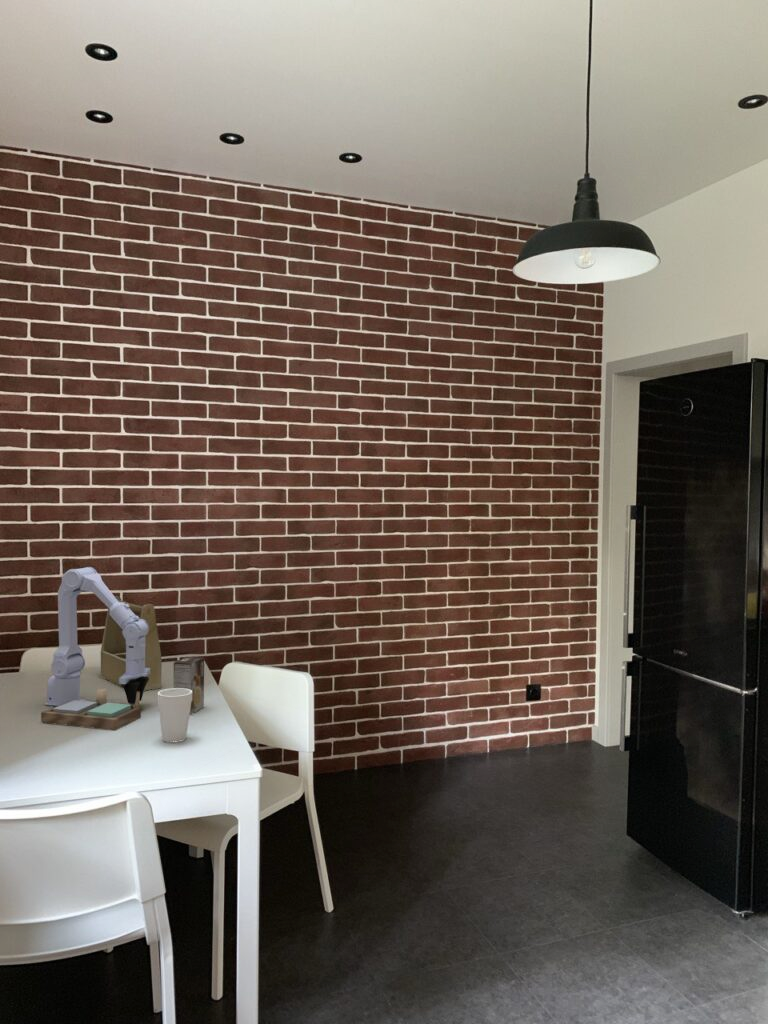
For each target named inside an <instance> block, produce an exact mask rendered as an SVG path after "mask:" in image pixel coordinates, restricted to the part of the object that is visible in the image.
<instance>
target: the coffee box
mask: <svg viewBox="0 0 768 1024" xmlns="http://www.w3.org/2000/svg"><path fill="white" fill-rule="evenodd" d="M172 681H173V684H172V685H173V688H185V689H190V690H192V701H191V708H190V714H191V715H193V714H194V713H196V712H198V711H199V710H201V709H203V708H204V705H205V704H204V703H205V698H204V697H205V696H204V695H205V657H194V656H185V657H183V658H181V659H179V660H176V661H175V662H173V680H172ZM197 710H198V711H197ZM192 713H193V714H192Z"/></svg>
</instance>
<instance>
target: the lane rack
mask: <svg viewBox="0 0 768 1024" xmlns="http://www.w3.org/2000/svg"><path fill="white" fill-rule="evenodd" d="M69 702H71V701H69ZM66 703H68V702H66ZM66 703H64V704H66ZM64 704H61V705H64ZM61 705H59V706H61ZM102 705H103V704H102ZM59 706H54V707H52V708H49V709H46V710H44V711H41V712H40V722H46V723H45V724H50V723H56V724H55V725H60V724H67V725H66V726H69V725H75V726H74V727H79V726H84V727H83V728H89V727H94V728H93V729H98V728H101V729H102V730H108V729H112V730H111V731H117V730H118V728H119V729H120V727H121V728H122V726H123V727H124V725H125V726H127V725H128V723H129V724H130V722H131V723H132V721H133V722H135V721H136V719H137V720H139V719H141V718H142V707H141V706H139V707H136V708H134V709H132V710H129V711H127V712H125V713H123V714H121V715H119V716H117V717H115V718H110V717H100V716H89V715H87V711H86V712H83V713H81V714H69V713H59V712H53V709H54V708H56V707H59ZM100 706H101V705H100ZM97 707H99V706H97ZM95 708H96V707H95ZM93 709H94V708H93ZM90 710H92V709H90ZM88 711H89V710H88ZM140 717H141V718H140ZM138 718H139V719H138ZM134 720H135V721H134ZM126 724H127V725H126ZM101 729H100V730H101ZM116 729H117V730H116Z"/></svg>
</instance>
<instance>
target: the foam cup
mask: <svg viewBox="0 0 768 1024" xmlns="http://www.w3.org/2000/svg"><path fill="white" fill-rule="evenodd" d="M156 696H157V703H158V712H159V713H158V714H159V720H160V721H159V722H160V730H161V731H160V732H161V738H162V739H163V740H164V741H168V742H167V743H176V742H175V741H180V740H184V739H185V738H186V739H187V735H188V725H189V720H190V715H189V714H190V708H191V701H192V690H190V689H185V688H165V689H161V690H159V691H158V692H157V695H156ZM186 739H185V740H186ZM163 740H162V741H163ZM185 740H184V741H185ZM164 741H163V742H164ZM173 741H174V742H173ZM180 742H181V741H180Z"/></svg>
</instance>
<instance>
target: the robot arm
mask: <svg viewBox="0 0 768 1024" xmlns="http://www.w3.org/2000/svg"><path fill="white" fill-rule="evenodd" d="M83 591H84V592H91V593H93V594H94V595H95V596H96V597H97V598H98V599H99V600H100V602H102V603H103V604H104V605H105V606H106V607H107V609H108V608H109V609H110V612H109V614H110V616H111V617H112V618H113V619H114V620H115V621H116V623H117V624H118V625H119V626H120V627H121V628H122V629H123V631H122V633H123V636H124V638H125V639H126V673H125V674H124V675H123V676H122V677H120V678H119V684H121V685H122V687H121V688H122V689H123V691H124V692H125V696H126V700H127V704H128V705H129V704H135V701H136V694H137V691H139V692H140V702H141V701H142V700H143V696H144V692H145V691H144V689H145V686H146V684H147V682H148V681H149V677H145V676H147V675H149V674H150V668H145V636H146V635H147V634H148V632H149V626H148V624H147V622H146V621H145V620H143V619H140V617H139V615H136V614H135V613H134V611H131V610H130V608H129V607H130V606H129V605H128V604H125V603H124V602H118V600H117V599H116V598H115V597H114V596H115V595H114V594H113V593H112V592H111V591H110V589H109V588H108V586H107V585H106V584H105V582H104V581H103V579H102V576H101V574H99V573H98V572H97V570H96V569H95V568H94V567H91V566H86V567H82V568H71V569H68V570H67V571H66V572H64V573H63V574H62V575H61V583H60V585H59V587H58V591H57V608H58V610H57V612H58V613H57V614H58V615H57V617H58V620H57V621H58V648H56V650H55V652H54V654H53V658H52V662H51V665H50V669H51V672H52V674H53V675H51V676H50V677H49V678H48V681H47V684H46V702H45V704H44V705H46V706H54V707H56V706H59V705H61V704H64V703H66V702H69V701H73V700H77V701H87V700H86V699H84V698H83V699H81V698H80V697H81V696H80V695H81V674H82V671H83V670H84V668H85V665H86V659H85V658H84V657H85V656H84V655H83V649H82V648H81V647H80V646H79V645H78V616H77V614H78V612H77V606H78V605H77V597H78V596H80V595H81V593H82V592H83Z"/></svg>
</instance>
